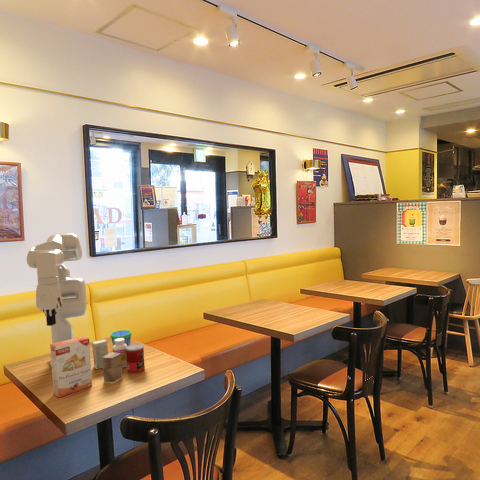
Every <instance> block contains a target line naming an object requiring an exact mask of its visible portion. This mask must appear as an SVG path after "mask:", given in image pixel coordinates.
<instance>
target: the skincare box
mask: <svg viewBox="0 0 480 480" xmlns="http://www.w3.org/2000/svg"><path fill="white" fill-rule="evenodd" d="M91 343H92V344H91V345H92V355H93V356H92V357H93V366H94V368H95V370H98V369H103V360H102V357H104V356H106V355H107V354H109V347H108V341H107V340H106V339H105V338H104V339H99V340H95V341H92V342H91Z"/></svg>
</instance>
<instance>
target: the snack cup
mask: <svg viewBox="0 0 480 480" xmlns="http://www.w3.org/2000/svg"><path fill="white" fill-rule="evenodd" d="M131 336H132V331H131V330H127V329H121V330H115V331H113V332H112V333H110V339H111V343H112V347H113V346H114V345H115V343H114V340H115V339H118V338H124V339H125V342H124V343H125V344H126V345H127V346H129V345H131V340H132V339H131Z"/></svg>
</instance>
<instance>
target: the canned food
mask: <svg viewBox="0 0 480 480" xmlns="http://www.w3.org/2000/svg"><path fill="white" fill-rule="evenodd" d="M144 350H145V349H144V345H143V344H141V343H133V344H130V345H129V346H127V347H126V360H127V366H126V370H127V372H128V373H130V374H138V373H141V372H144V370H145V367H146V366H145V352H144Z"/></svg>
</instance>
